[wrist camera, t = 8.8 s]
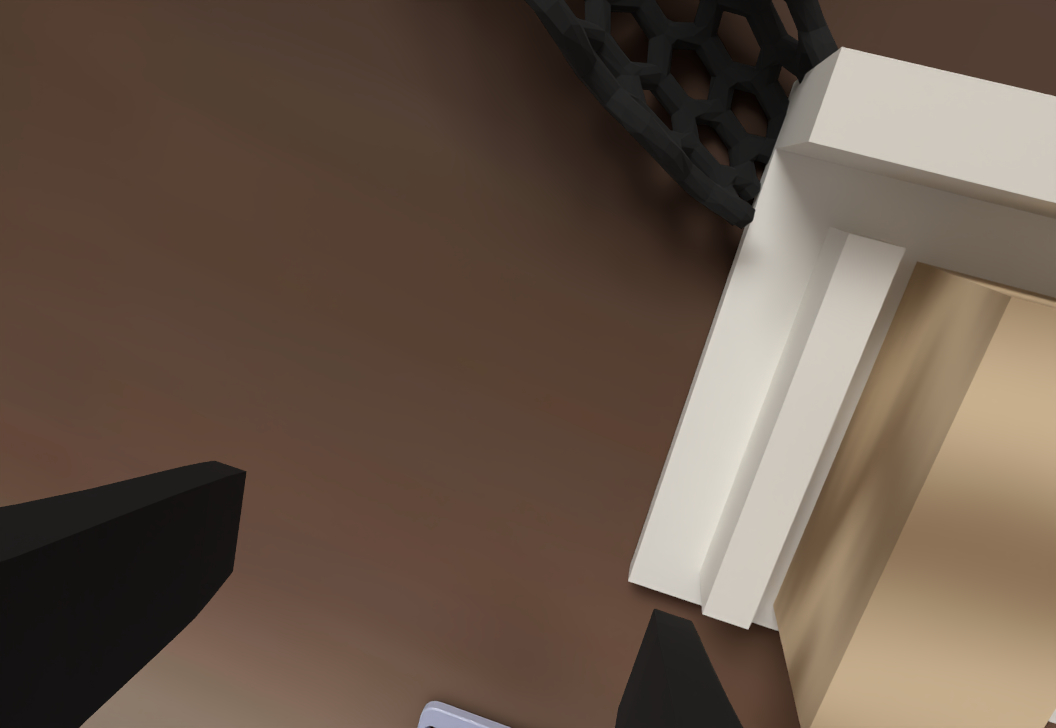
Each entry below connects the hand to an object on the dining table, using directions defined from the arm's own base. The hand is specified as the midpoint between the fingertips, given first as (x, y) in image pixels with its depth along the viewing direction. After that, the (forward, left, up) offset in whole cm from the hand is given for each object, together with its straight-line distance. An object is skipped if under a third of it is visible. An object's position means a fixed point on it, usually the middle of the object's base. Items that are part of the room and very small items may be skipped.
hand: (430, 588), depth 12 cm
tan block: (+2, -10, -9) cm, 13 cm away
